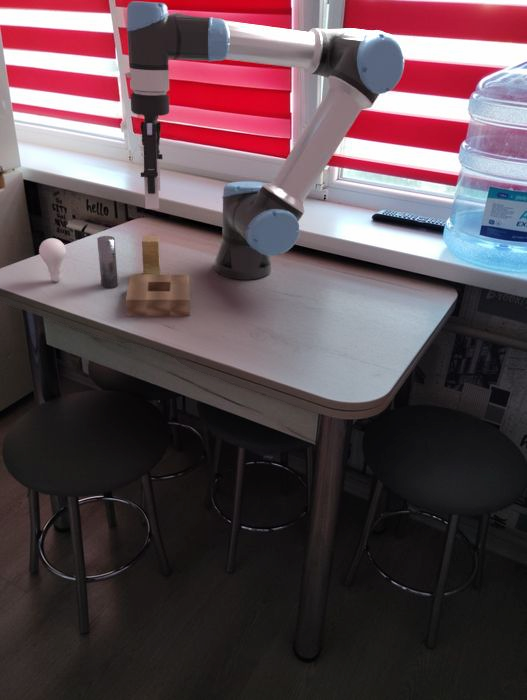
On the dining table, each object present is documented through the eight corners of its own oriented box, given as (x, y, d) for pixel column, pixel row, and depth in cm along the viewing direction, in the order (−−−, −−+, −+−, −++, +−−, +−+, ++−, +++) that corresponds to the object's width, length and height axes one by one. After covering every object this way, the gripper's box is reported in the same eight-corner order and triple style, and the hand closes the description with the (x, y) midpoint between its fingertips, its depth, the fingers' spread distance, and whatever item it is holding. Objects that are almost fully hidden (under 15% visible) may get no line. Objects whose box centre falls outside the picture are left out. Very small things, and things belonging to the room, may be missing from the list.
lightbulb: (62, 288, 143) (56, 244, 138) (38, 284, 144) (32, 241, 139) (74, 278, 148) (69, 236, 143) (51, 275, 149) (45, 233, 144)
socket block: (189, 289, 147) (189, 274, 145) (189, 315, 135) (189, 299, 133) (131, 289, 145) (130, 274, 143) (126, 315, 133) (125, 299, 131)
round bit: (118, 281, 148) (115, 235, 142) (117, 288, 145) (113, 241, 139) (102, 281, 148) (98, 235, 142) (100, 288, 144) (96, 241, 138)
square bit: (160, 272, 155) (158, 236, 150) (159, 278, 151) (158, 241, 146) (144, 272, 154) (142, 235, 149) (143, 278, 151) (141, 241, 146)
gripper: (134, 83, 127) (138, 182, 138) (125, 100, 106) (131, 216, 116) (169, 85, 128) (171, 183, 139) (168, 102, 107) (170, 217, 117)
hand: (153, 198), depth 128 cm, fingers open, 13 cm apart
